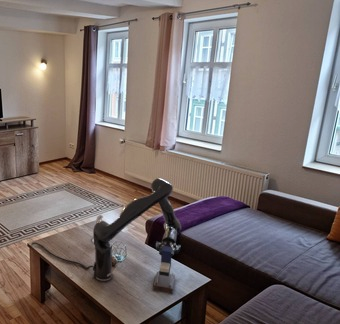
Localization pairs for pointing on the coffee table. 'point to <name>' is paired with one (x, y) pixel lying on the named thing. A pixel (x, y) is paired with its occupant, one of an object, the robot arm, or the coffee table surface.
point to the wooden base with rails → (164, 283)
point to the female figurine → (99, 218)
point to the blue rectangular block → (165, 261)
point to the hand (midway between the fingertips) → (166, 254)
